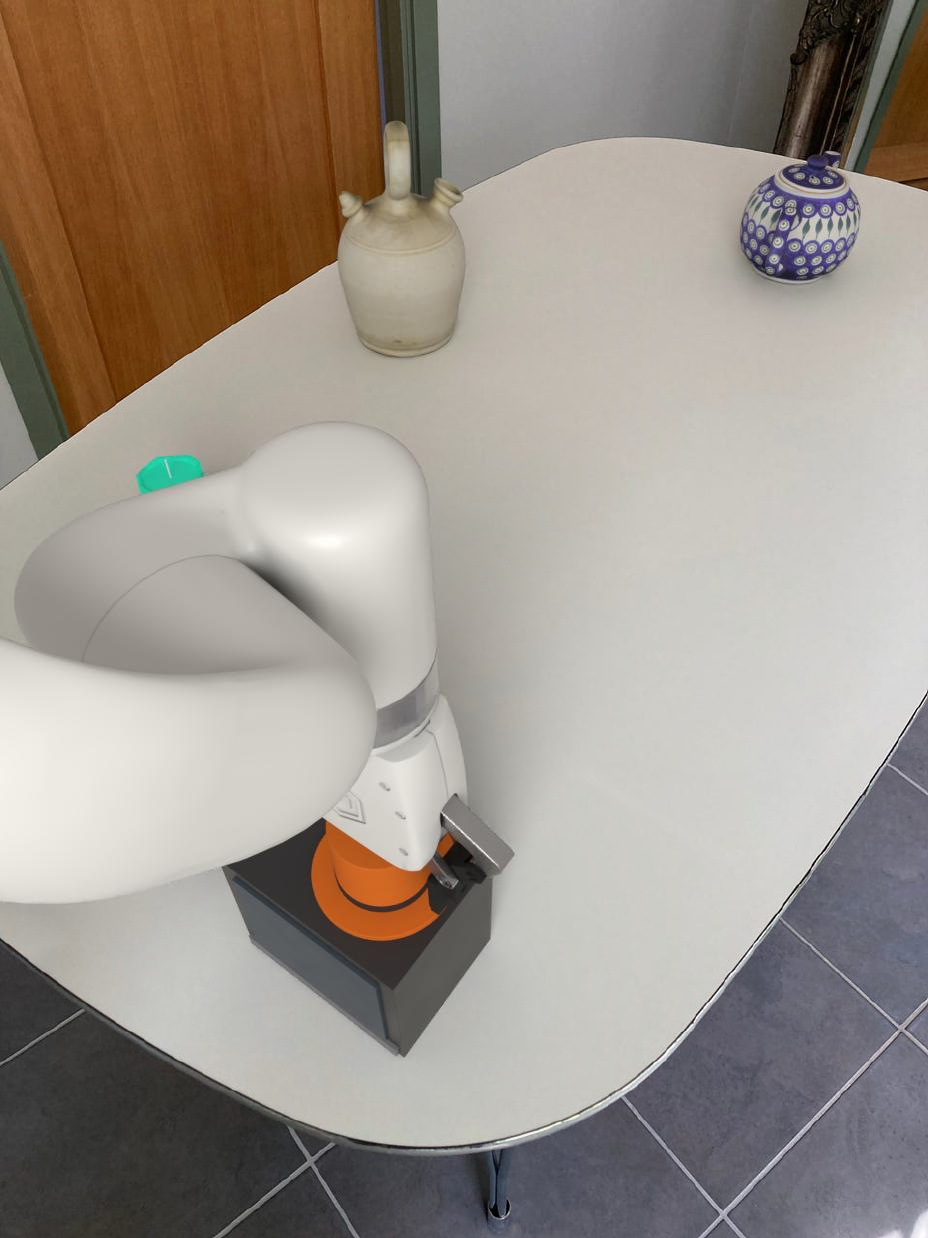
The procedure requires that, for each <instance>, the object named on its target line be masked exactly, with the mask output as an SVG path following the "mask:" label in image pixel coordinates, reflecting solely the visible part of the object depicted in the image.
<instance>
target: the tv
mask: <svg viewBox="0 0 928 1238" xmlns="http://www.w3.org/2000/svg"><path fill="white" fill-rule="evenodd" d="M448 833H449V832H448ZM325 834H326V819H324V818H323V817H322V818H321V819H320V820H319V821H318V822H317V823H316V824H315V825H311V826H310V827H308V828H307V829H305V830H303V831H302V832H300V833H298V834H296V835H295V836H293V837H291V838H290V839H288V840H286V841H284V842H283V843H280V844H278V845H276V846H274V847H271V848H269V849H267V850H265V851H262V852H260V853H258V854H255V855H253V856H251V857H249V858H246V859H243V860H241V861H238V862H234V863H231V864H228V865H225V866H222V867H221V869H222V872H223V874H224V877H225V879H226V881H227V884H228V887H229V889H230V891H231V893H232V896H233V898H234V901H235V903H236V905H237V908H238V910H239V913H240V915H241V917H242V919H243V922H244V924H245V927H246V930H247V931H248V934H249V935H248V938H249V940H250V943H251V944H252V945H253V946H255V947H256V948H257V949H258V950H259V951H261V952H262V953H263V954H264V955H266V956H267V957H269V958H270V959H271V961H272V960H273V962H275V963H276V964H278V965H279V966H280V967H281V968H283V970H285V971H286V972H288V973H289V974H290V975H291V976H292V977H294V978H296V979H297V980H298V981H299V982H300V983H302V984H303V985H304V986H306V988H308V989H310V990H311V992H313V993H314V994H316V995H317V996H318V997H319V998H321V999H322V1000H323V1001H325V1002H326V1003H327V1004H329V1005H330V1006H331V1007H332V1008H334V1009H335V1010H336V1011H337V1012H339V1013H340V1014H341V1015H343V1017H345V1018H346V1019H348V1020H349V1021H350V1022H351V1023H353V1024H354V1025H355V1026H357V1027H358V1028H359V1029H361V1030H362V1032H364V1033H365V1034H367V1035H368V1036H369V1037H371V1038H372V1039H373V1040H374V1041H375V1042H376V1043H378V1044H379V1045H381V1046H382V1047H383V1048H385V1049H386V1050H387V1051H388V1052H390V1053H391V1054H392V1055H393V1056H395V1057H398V1056H400V1057H402V1058H406V1056H407V1055H408V1054H409V1052H411V1049H412V1048H413V1047H414V1045H415V1044H416V1043H417V1041H418V1040H419V1038H420V1037H421V1035H422V1034H423V1033H424V1031H425V1030H426V1029H427V1027H428V1026H429V1024H430V1023H431V1022H432V1020H433V1019H434V1018H435V1016H436V1015H437V1014H438V1012H439V1011H440V1009H442V1007H443V1005H444V1004H445V1002H446V1001H447V1000H448V999H449V997H450V995H452V993H453V992H454V990H455V989H456V987H457V986H458V984H459V983H460V982H461V980H462V979H463V978H464V976H465V975H466V973H467V972H468V970H469V969H470V968H471V967H472V965H473V964H474V962H475V961H476V960H477V958H478V957H479V956H480V955H481V953H482V951H483V950H484V948H485V947H486V946H487V944H488V943H489V942H490V940H491V937H492V936H491V935H492V933H491V931H492V907H493V906H492V904H493V903H492V902H493V879H494V877H491V878H485V880H484V881H483V882H482V883H481V884H476V883H472V884H471V887H470V889H469V890H468V892H467V893H466V895H465V896H464V897H463V899H462V900H461V901H460V902H459V903H457V904H456V903H455V902H453V901H452V900H451V901H450V902H449V904H448V905H447V907H446V908H445V909H444V911H443V912H442V913H441V914H440V915H439V916H438V918H436V919H435V920H434V921H433V922H432V923H431V924H429V925H428V926H426V927H425V928H424V929H422V930H420V931H418V932H416V933H414V934H412V935H409V936H406V937H404V938H399V939H395V940H386V941H378V940H368V939H363V938H359V937H356V936H353V935H351V934H349V933H347V932H345V931H343V930H342V929H340V928H339V927H337V926H336V925H335V924H334V923H332V922H331V921H330V920H329V919H328V917H327V916H326V915H325V914H324V912H323V911H322V909H321V908H320V906H319V904H318V902H317V900H316V897H315V894H314V890H313V886H312V879H311V871H312V863H313V858H314V855H315V852H316V849H317V847H318V845H319V843H320V841H321V840H322V838H323V836H324V835H325ZM449 835H450V834H449ZM450 837H451V839H452V841H453V843H455V840H454V839H453V838H452V836H451V835H450Z"/></svg>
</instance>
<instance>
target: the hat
mask: <svg viewBox="0 0 928 1238" xmlns="http://www.w3.org/2000/svg"><path fill="white" fill-rule="evenodd" d="M453 844H454V843H453V841H452V839H451V837H450V835H449V833H447V835H446V836H445V837H444V838H443V839H442V841H441V842H440V843H439V844H438V846H437V849H436V850H437V851H438V852H439V854H440V855H441V856H442V857H443V856H444V855H445V854H446V853H447V851H448V850H449V849H450V848H451V846H452V845H453ZM430 873H431V871H430V870H429V869H428V867H427V866H426V865H425V866H424V867H423V868H422V869H421V870H420V871H407V870H403V869H401V868H398V867H396V866H395V865H393V864H391V863H389V862H388V861H386V860H385V859H383V858H382V857H380V856H378V855H377V854H375V853H374V852H372V851H371V850H369V849H368V848H367V847H365V846H364V845H362V844H361V843H359V842H358V841H356V840H355V839H353V838H352V837H350V836H349V835H347V834H346V833H344V832H343V831H341V830H340V829H339V828H337V827H336V826H334V825H333V824H331V823H330V822H328V821H327V820H326V834H325V835H324V836H323V838H322V840H321V841H320V843H319V845H318V847H317V849H316V852H315V855H314V858H313V863H312V871H311V879H312V886H313V890H314V894H315V897H316V900H317V902H318V904H319V906H320V908H321V909H322V911H323V912H324V914H325V915H326V916H327V917H328V919H329V920H330V921H331V922H332V923H334V924H335V925H336V926H337V927H339V928H340V929H342V930H343V931H345V932H347V933H349V934H351V935H353V936H356V937H359V938H363V939H368V940H378V941H386V940H395V939H399V938H404V937H406V936H409V935H412V934H414V933H416V932H418V931H420V930H422V929H424V928H425V927H426V926H428V925H429V924H431V923H432V922H433V921H434V920H435V919H436V918H438V916H439V915H437V914H436V913H434V912H433V911H432V910H431V907H430V906H429V898H428V887H427V878H428V876H429V875H430ZM446 907H447V906H446ZM443 911H444V910H443ZM443 911H442V912H443Z"/></svg>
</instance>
